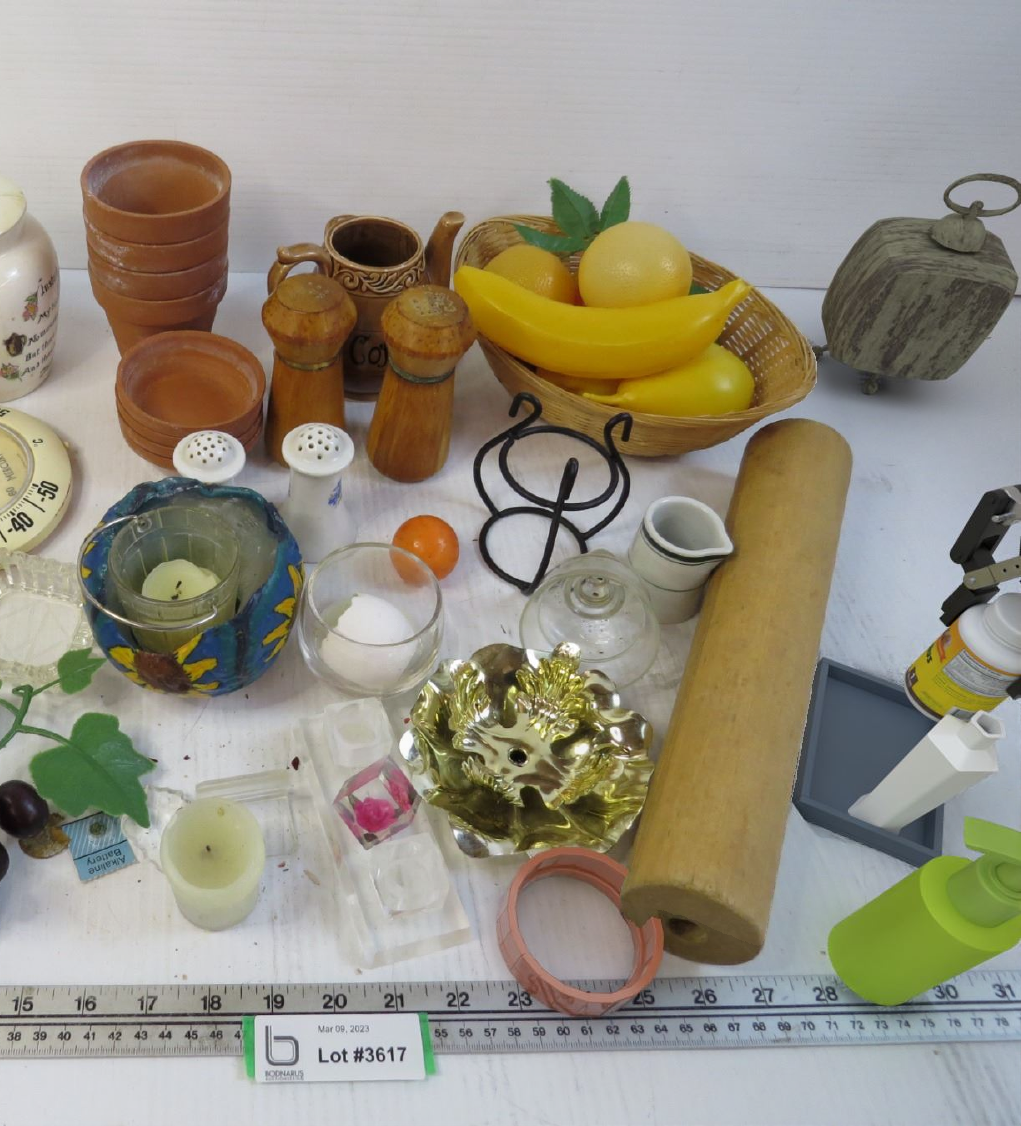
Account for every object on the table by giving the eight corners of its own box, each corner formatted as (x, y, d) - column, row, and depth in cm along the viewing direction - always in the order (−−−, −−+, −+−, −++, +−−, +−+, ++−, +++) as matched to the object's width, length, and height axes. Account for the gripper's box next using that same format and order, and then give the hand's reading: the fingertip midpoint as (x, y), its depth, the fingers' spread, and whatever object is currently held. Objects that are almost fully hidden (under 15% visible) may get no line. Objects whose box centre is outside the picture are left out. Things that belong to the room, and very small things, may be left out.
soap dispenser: (807, 905, 71) (970, 782, 55) (906, 948, 69) (1103, 834, 54) (797, 979, 67) (969, 871, 52) (901, 1027, 66) (1111, 929, 50)
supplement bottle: (926, 653, 73) (1012, 569, 65) (995, 707, 70) (1093, 626, 62) (883, 687, 71) (965, 604, 63) (951, 743, 68) (1047, 664, 60)
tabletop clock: (920, 368, 112) (1066, 164, 93) (936, 418, 107) (1095, 213, 87) (793, 346, 114) (909, 142, 94) (802, 395, 108) (928, 189, 89)
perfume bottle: (833, 827, 75) (946, 732, 63) (847, 785, 77) (958, 686, 65) (894, 860, 73) (1021, 769, 62) (907, 817, 75) (1031, 721, 64)
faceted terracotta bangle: (667, 996, 66) (694, 975, 62) (533, 1043, 64) (552, 1024, 60) (592, 857, 73) (613, 829, 69) (468, 895, 70) (482, 869, 66)
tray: (925, 871, 73) (941, 860, 71) (787, 812, 76) (800, 800, 74) (935, 717, 82) (949, 704, 80) (811, 669, 84) (823, 656, 83)
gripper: (1343, 569, 50) (1110, 731, 63) (1116, 392, 58) (952, 567, 71) (1237, 600, 48) (1020, 759, 61) (1019, 413, 57) (870, 588, 70)
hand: (985, 655), depth 66 cm, fingers closed on supplement bottle, 5 cm apart
